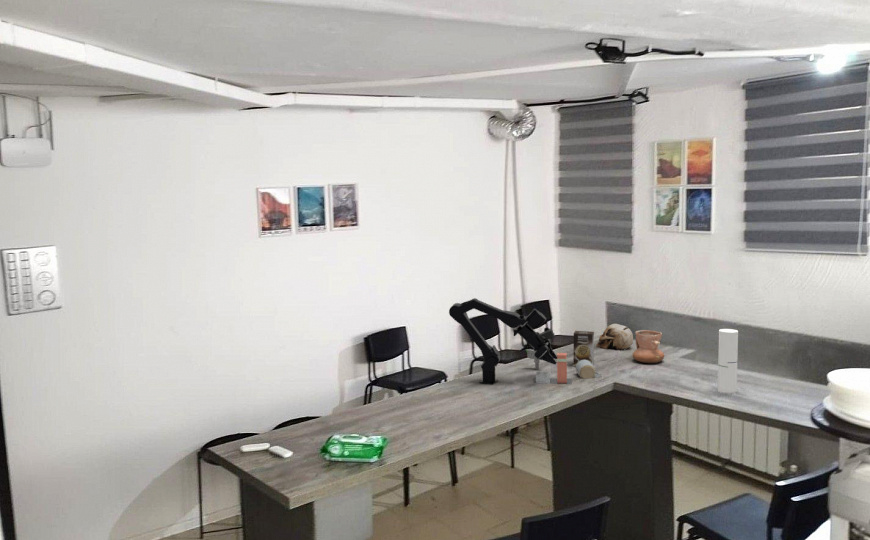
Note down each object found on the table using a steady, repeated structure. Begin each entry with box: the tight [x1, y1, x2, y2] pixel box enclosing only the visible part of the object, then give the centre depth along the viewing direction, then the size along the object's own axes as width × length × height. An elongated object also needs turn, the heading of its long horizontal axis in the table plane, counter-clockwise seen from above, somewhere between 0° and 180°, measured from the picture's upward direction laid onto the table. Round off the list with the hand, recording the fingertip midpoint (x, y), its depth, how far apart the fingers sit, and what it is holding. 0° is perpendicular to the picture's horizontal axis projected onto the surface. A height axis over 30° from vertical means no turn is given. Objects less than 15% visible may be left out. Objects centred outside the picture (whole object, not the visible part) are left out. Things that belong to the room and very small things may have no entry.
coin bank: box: [595, 323, 634, 351], centre depth 367 cm, size 16×17×13 cm
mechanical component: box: [525, 348, 542, 371], centre depth 325 cm, size 3×10×10 cm, turn 53°
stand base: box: [533, 371, 573, 385], centre depth 306 cm, size 16×8×4 cm, turn 79°
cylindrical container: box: [717, 328, 739, 394], centre depth 288 cm, size 7×7×25 cm
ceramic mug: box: [575, 360, 603, 379], centre depth 312 cm, size 11×8×8 cm
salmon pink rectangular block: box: [556, 352, 568, 383], centre depth 304 cm, size 4×4×12 cm
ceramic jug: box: [632, 329, 665, 364], centre depth 338 cm, size 18×14×14 cm
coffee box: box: [572, 330, 595, 368], centre depth 333 cm, size 9×6×16 cm
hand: (556, 361), depth 305 cm, fingers open, 9 cm apart
